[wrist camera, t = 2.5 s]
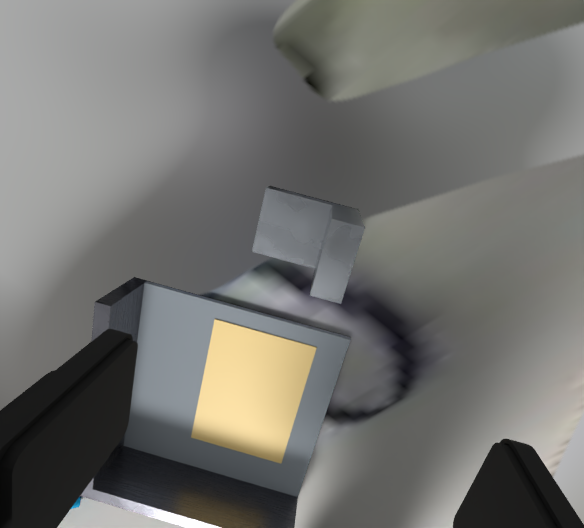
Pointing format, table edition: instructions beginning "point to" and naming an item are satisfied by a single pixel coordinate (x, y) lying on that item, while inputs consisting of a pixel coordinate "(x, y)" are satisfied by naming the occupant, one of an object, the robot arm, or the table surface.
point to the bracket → (311, 238)
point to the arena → (215, 409)
